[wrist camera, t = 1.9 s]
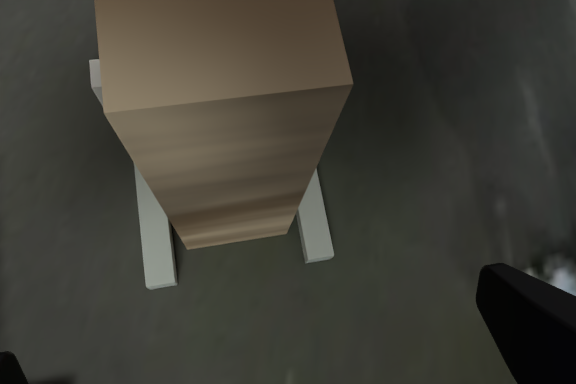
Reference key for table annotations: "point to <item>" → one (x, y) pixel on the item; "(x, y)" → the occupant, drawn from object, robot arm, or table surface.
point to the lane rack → (160, 234)
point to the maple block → (223, 106)
